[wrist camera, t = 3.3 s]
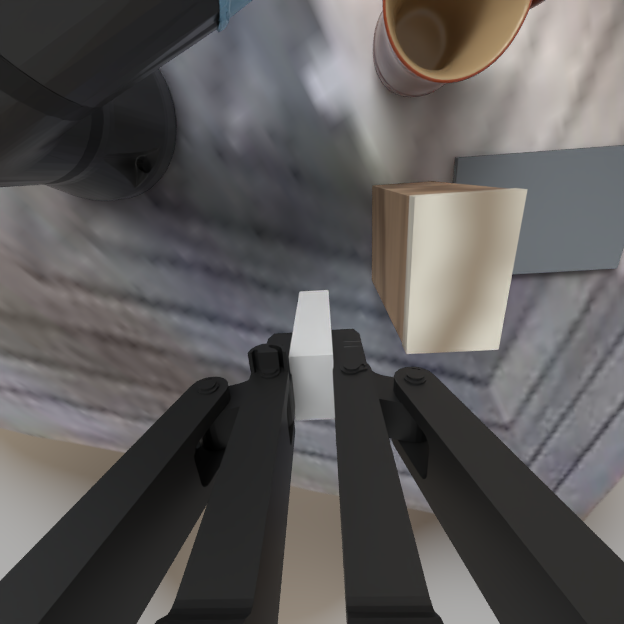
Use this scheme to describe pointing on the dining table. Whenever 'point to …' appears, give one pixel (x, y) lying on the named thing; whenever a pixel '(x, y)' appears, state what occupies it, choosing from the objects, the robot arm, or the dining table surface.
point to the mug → (442, 40)
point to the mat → (560, 204)
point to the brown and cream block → (445, 261)
